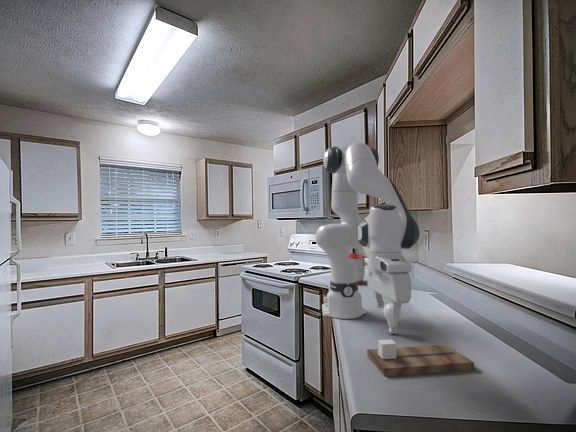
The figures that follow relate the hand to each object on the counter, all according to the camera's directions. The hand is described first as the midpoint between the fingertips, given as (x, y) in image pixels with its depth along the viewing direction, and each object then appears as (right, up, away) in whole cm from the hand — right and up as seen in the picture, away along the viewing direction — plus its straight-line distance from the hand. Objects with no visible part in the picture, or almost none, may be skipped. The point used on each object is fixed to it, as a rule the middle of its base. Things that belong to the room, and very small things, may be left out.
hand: (387, 311), depth 86 cm
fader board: (+9, -15, +1) cm, 17 cm away
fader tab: (0, -12, 0) cm, 12 cm away
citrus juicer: (+15, -17, +113) cm, 116 cm away
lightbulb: (+9, -15, +23) cm, 29 cm away
